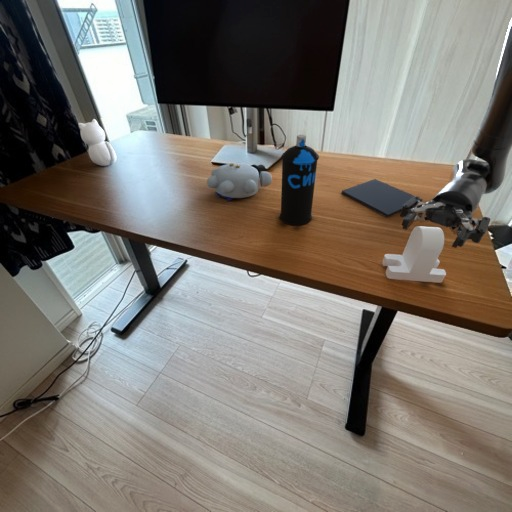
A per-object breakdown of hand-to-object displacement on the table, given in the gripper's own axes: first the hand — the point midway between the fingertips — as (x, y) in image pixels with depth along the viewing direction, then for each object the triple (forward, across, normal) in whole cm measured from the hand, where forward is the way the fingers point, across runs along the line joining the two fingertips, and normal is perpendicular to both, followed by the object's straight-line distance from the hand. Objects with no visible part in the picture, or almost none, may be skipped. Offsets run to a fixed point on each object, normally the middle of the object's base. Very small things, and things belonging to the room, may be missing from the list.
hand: (429, 233), depth 49 cm
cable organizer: (+2, 0, +8) cm, 8 cm away
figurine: (-1, -52, +8) cm, 52 cm away
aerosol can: (+1, -29, +8) cm, 30 cm away
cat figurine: (+18, -107, +8) cm, 109 cm away
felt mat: (-23, -18, +8) cm, 30 cm away
